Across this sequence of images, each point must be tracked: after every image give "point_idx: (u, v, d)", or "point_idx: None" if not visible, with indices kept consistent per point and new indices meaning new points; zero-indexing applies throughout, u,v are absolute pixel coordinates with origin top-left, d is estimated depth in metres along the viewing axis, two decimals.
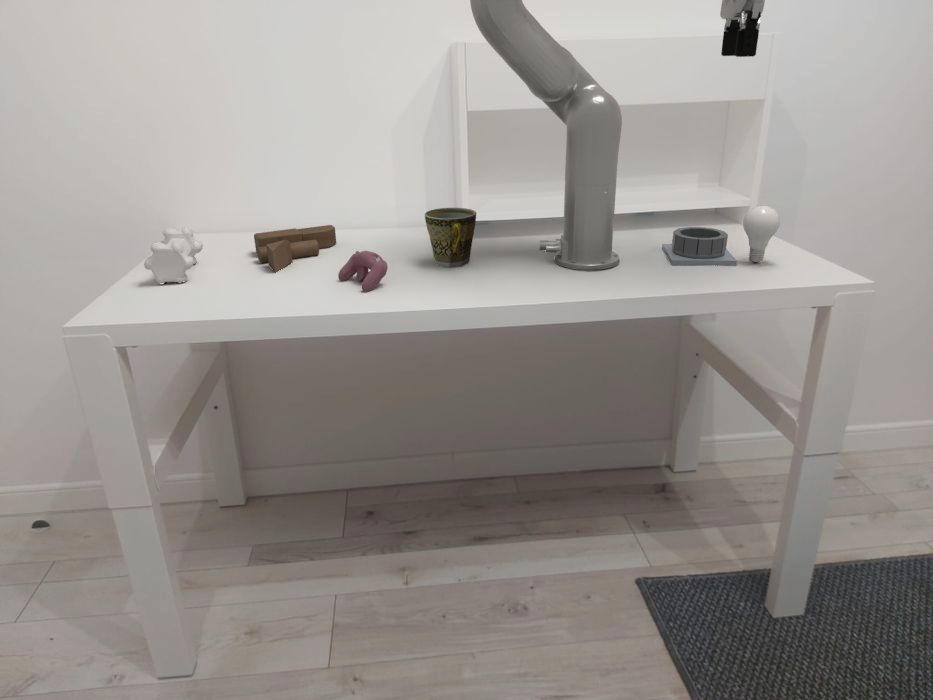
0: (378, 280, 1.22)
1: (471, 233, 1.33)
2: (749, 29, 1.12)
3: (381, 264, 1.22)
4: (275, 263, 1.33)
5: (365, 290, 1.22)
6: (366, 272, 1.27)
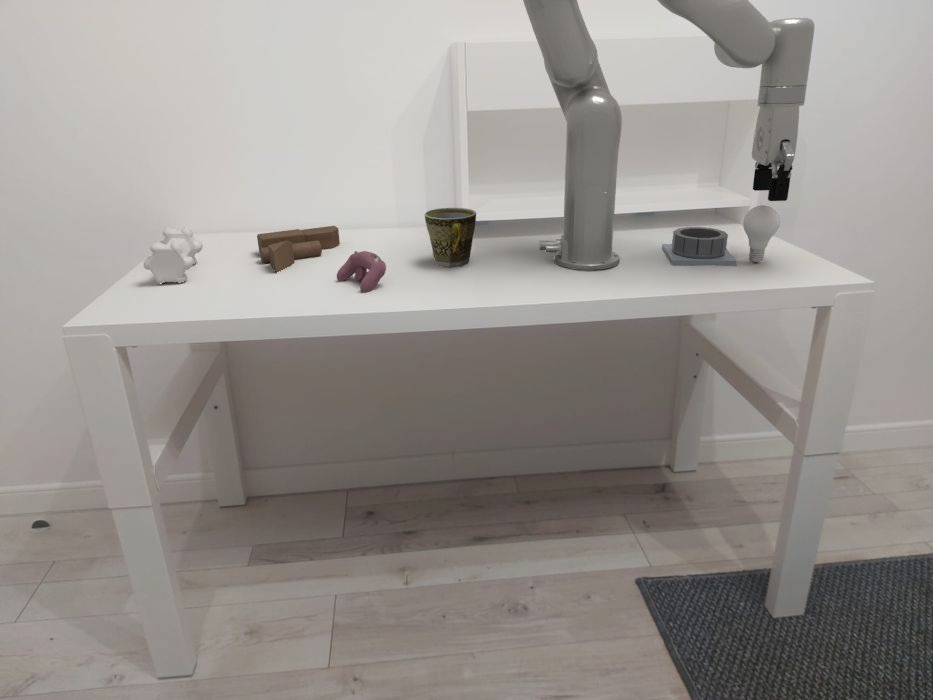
0: (376, 280, 1.22)
1: (471, 233, 1.33)
2: (781, 178, 1.20)
3: (379, 265, 1.22)
4: (276, 264, 1.33)
5: (363, 290, 1.21)
6: (364, 272, 1.26)
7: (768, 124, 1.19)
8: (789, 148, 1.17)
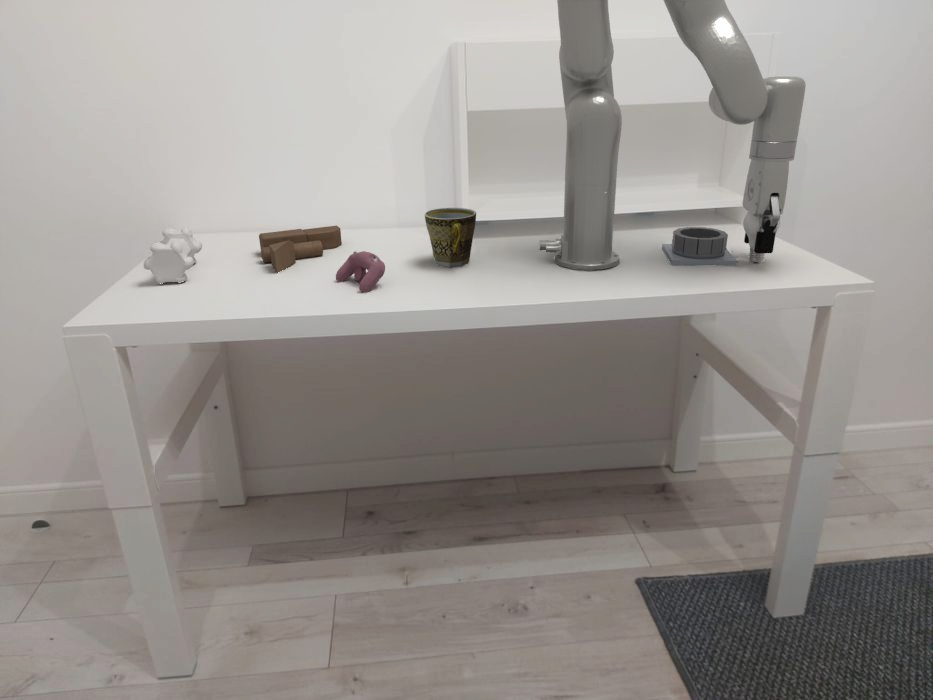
0: (376, 281, 1.22)
1: (471, 233, 1.33)
2: (767, 232, 1.26)
3: (378, 265, 1.22)
4: (277, 264, 1.33)
5: (363, 291, 1.21)
6: (364, 273, 1.26)
7: (759, 177, 1.23)
8: (777, 206, 1.22)
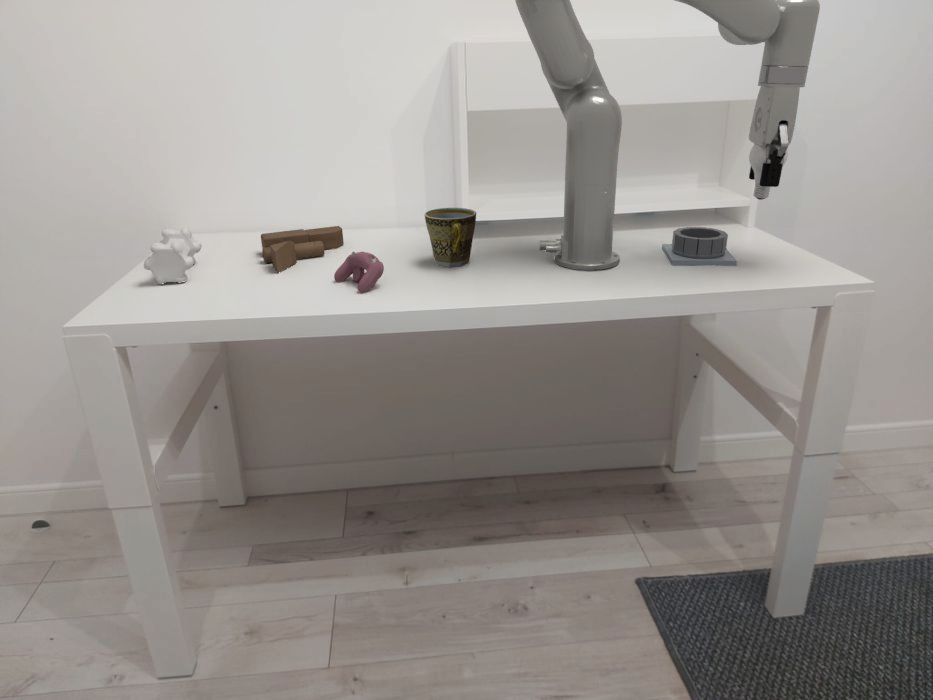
0: (374, 281, 1.22)
1: (471, 233, 1.33)
2: (774, 164, 1.21)
3: (377, 265, 1.22)
4: (278, 264, 1.33)
5: (361, 291, 1.21)
6: (362, 273, 1.26)
7: (768, 104, 1.18)
8: (785, 134, 1.17)
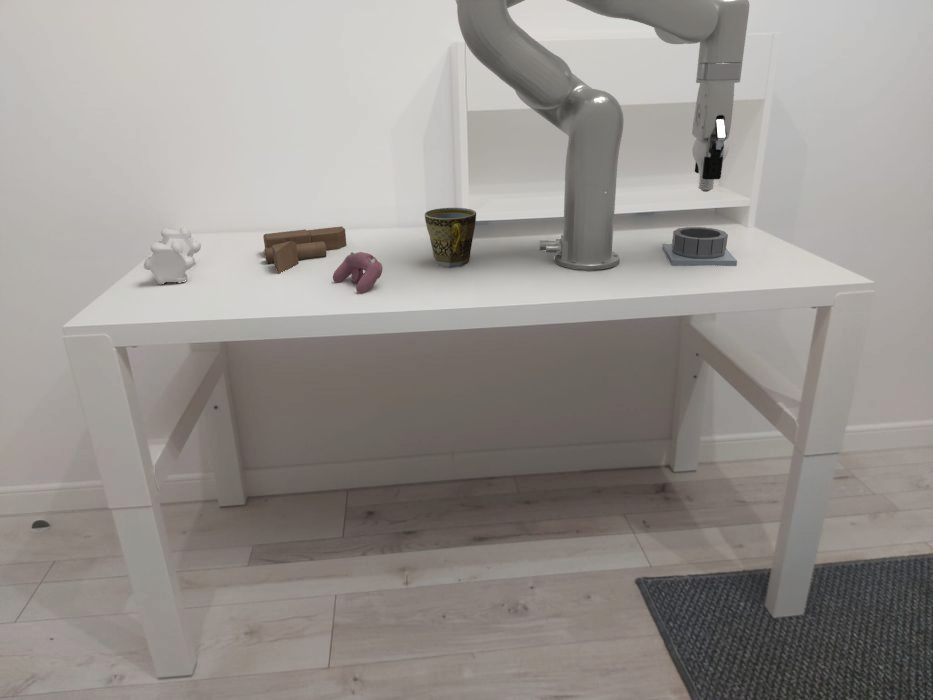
0: (373, 282, 1.22)
1: (471, 233, 1.33)
2: (714, 157, 1.25)
3: (376, 266, 1.21)
4: (279, 264, 1.33)
5: (360, 292, 1.21)
6: (361, 273, 1.26)
7: (705, 99, 1.22)
8: (722, 129, 1.21)
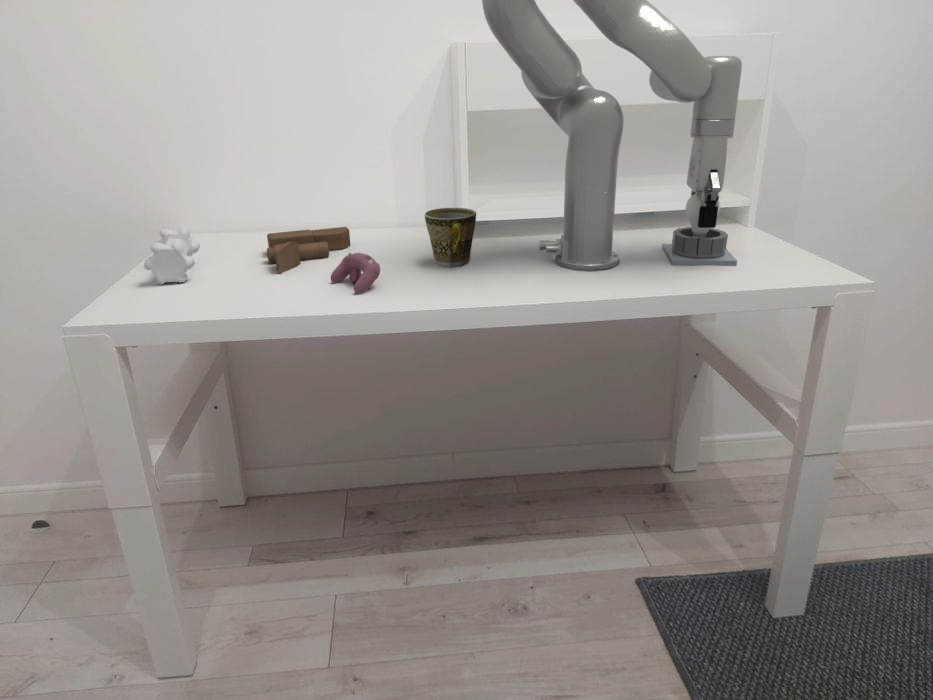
0: (371, 282, 1.21)
1: (471, 233, 1.33)
2: (709, 207, 1.28)
3: (373, 266, 1.21)
4: (280, 265, 1.32)
5: (358, 292, 1.21)
6: (359, 274, 1.26)
7: (699, 154, 1.26)
8: (716, 179, 1.24)
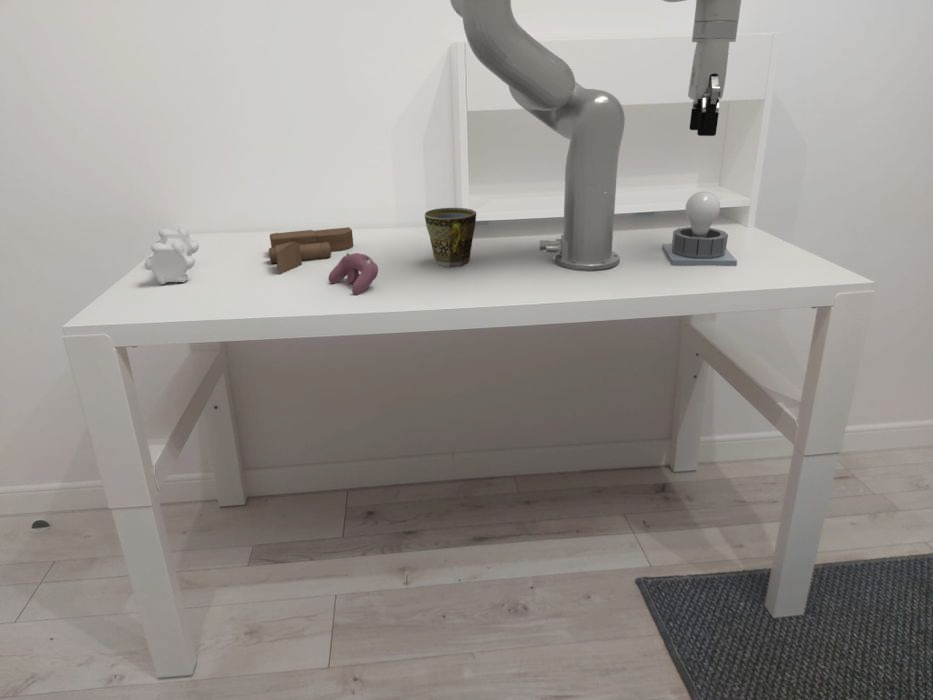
0: (369, 283, 1.21)
1: (471, 233, 1.33)
2: (709, 112, 1.24)
3: (371, 267, 1.21)
4: (280, 265, 1.32)
5: (355, 293, 1.20)
6: (357, 274, 1.25)
7: (699, 58, 1.23)
8: (716, 81, 1.21)
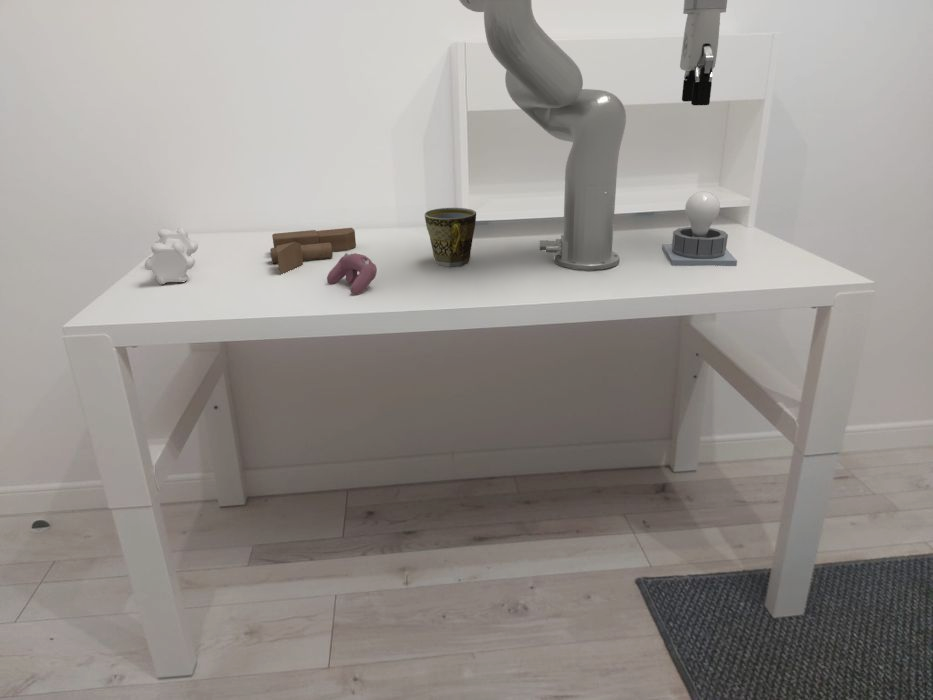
0: (367, 283, 1.21)
1: (471, 233, 1.33)
2: (703, 82, 1.26)
3: (370, 267, 1.21)
4: (281, 265, 1.32)
5: (354, 293, 1.20)
6: (355, 275, 1.25)
7: (691, 29, 1.25)
8: (709, 51, 1.23)
